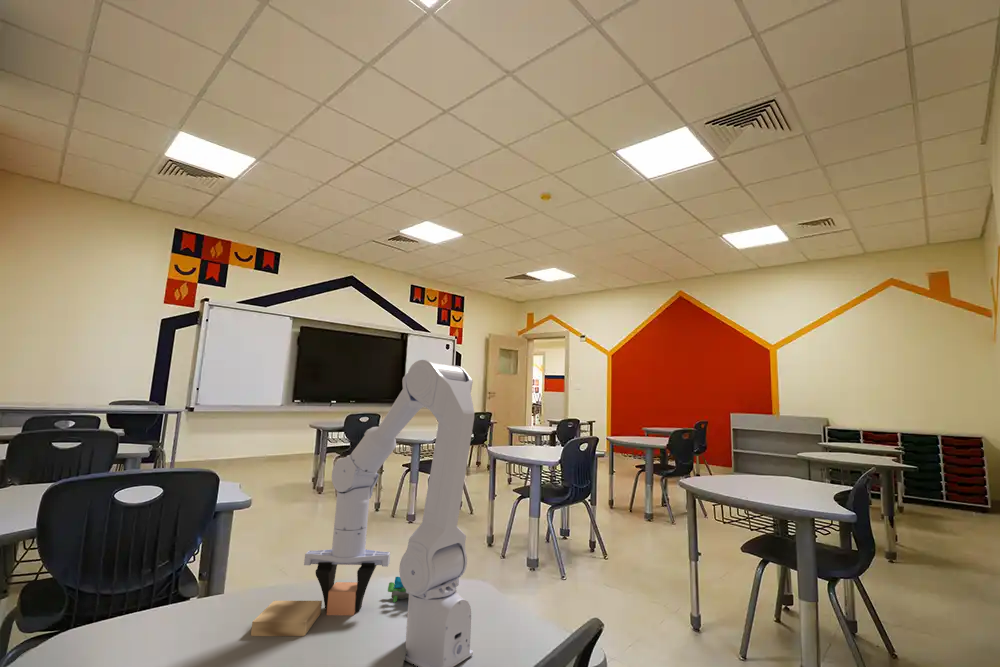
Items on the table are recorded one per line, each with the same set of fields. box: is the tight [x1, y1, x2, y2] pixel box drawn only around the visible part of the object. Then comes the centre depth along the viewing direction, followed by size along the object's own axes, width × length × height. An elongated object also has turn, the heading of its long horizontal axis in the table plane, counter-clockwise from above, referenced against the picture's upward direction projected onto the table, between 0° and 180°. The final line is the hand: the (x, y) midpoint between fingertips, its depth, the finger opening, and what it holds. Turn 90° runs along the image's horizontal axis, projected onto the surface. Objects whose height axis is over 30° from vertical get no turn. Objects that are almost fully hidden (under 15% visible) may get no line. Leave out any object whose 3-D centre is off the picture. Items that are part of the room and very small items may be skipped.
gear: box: [387, 576, 409, 603], centre depth 85 cm, size 11×6×10 cm
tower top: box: [250, 600, 323, 637], centre depth 74 cm, size 8×8×2 cm
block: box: [326, 581, 357, 616], centre depth 80 cm, size 4×4×5 cm
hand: (343, 608), depth 80 cm, fingers closed on block, 4 cm apart
